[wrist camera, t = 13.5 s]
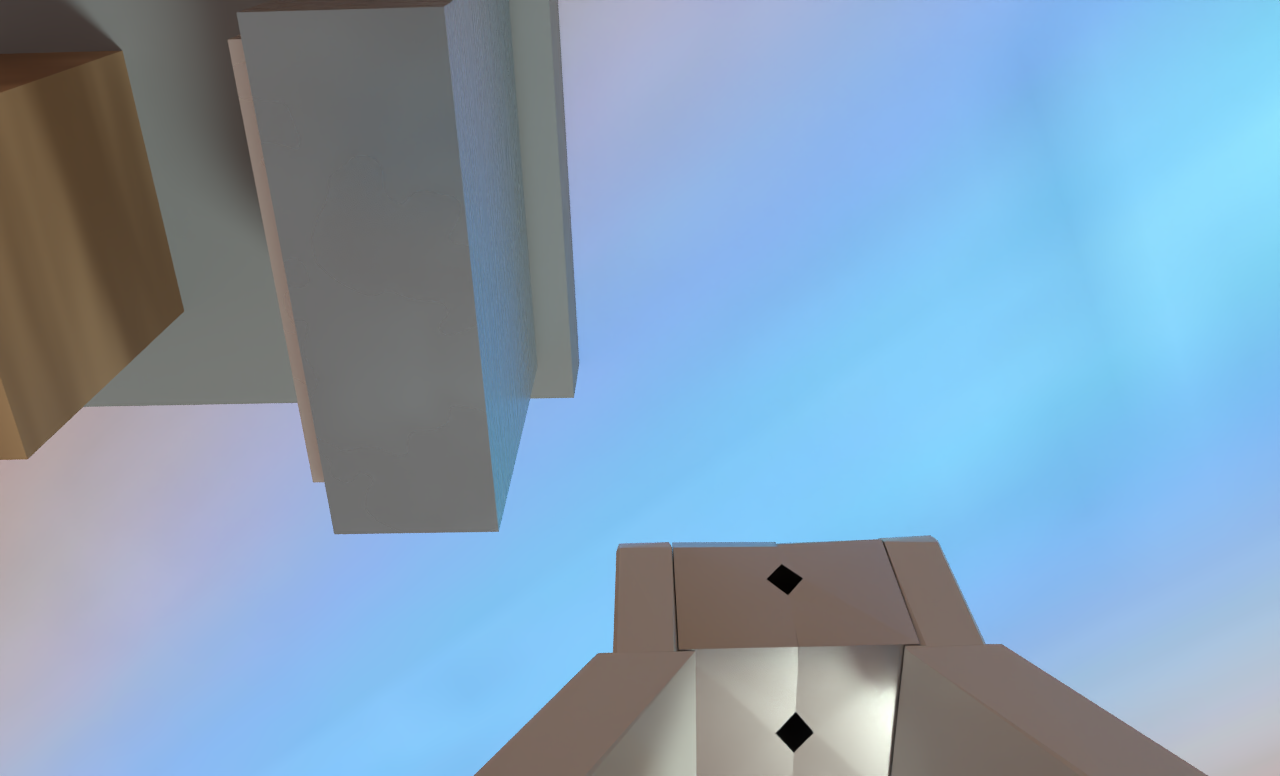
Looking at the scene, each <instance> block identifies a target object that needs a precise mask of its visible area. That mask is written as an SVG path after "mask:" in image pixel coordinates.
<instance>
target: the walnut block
mask: <svg viewBox="0 0 1280 776" xmlns="http://www.w3.org/2000/svg"><path fill="white" fill-rule="evenodd" d="M183 312H184V308H183V304H182V299H181V295H180V291H179V287H178V282H177V278H176V274H175V270H174V266H173V261H172V257H171V253H170V249H169V245H168V240H167V236H166V232H165V228H164V223H163V219H162V215H161V211H160V207H159V202H158V198H157V194H156V190H155V186H154V181H153V177H152V173H151V169H150V164H149V160H148V156H147V152H146V148H145V143H144V139H143V135H142V131H141V126H140V122H139V118H138V114H137V110H136V105H135V101H134V97H133V93H132V89H131V84H130V80H129V76H128V72H127V67H126V63H125V59H124V55H123V51H90V52H52V53H15V54H0V460H12V459H28V458H29V457H30V456H31V455H33V454H34V453H35V452H36V451H37V450H38V449H39V448H40V447H41V446H42V445H43V444H44V443H45V442H46V441H47V440H48V439H49V438H51V437H52V436H53V435H54V434H55V433H56V432H57V431H58V430H59V429H60V428H61V427H62V426H63V425H64V424H65V423H66V422H67V421H69V420H70V419H71V418H72V417H73V416H74V415H75V414H76V413H77V412H78V411H79V410H80V409H81V408H82V407H83V406H84V405H86V404H87V403H88V402H89V401H90V400H91V399H92V398H93V397H94V396H95V395H96V394H97V393H98V392H99V391H100V390H101V389H102V388H104V387H105V386H106V385H107V384H108V383H109V382H110V381H111V380H112V379H113V378H114V377H115V376H116V375H117V374H118V373H119V372H120V371H122V370H123V369H124V368H125V367H126V366H127V365H128V364H129V363H130V362H131V361H132V360H133V359H134V358H135V357H136V356H137V355H138V354H140V353H141V352H142V351H143V350H144V349H145V348H146V347H147V346H148V345H149V344H150V343H151V342H152V341H153V340H154V339H155V338H156V337H158V336H159V335H160V334H161V333H162V332H163V331H164V330H165V329H166V328H167V327H168V326H169V325H170V324H171V323H172V322H173V321H175V320H176V319H177V318H178V317H179V316H180V315H181V314H182V313H183Z"/></svg>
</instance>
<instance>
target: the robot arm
mask: <svg viewBox="0 0 1280 776" xmlns="http://www.w3.org/2000/svg"><path fill="white" fill-rule="evenodd" d="M474 776H1208V775H1206V774H1205V773H1203V772H1201V771H1200V770H1198V769H1197V768H1195V767H1194V766H1192V765H1190V764H1189V763H1187V762H1186V761H1184V760H1183V759H1181V758H1179V757H1178V756H1176V755H1175V754H1173V753H1172V752H1170V751H1168V750H1167V749H1165V748H1164V747H1162V746H1161V745H1159V744H1157V743H1156V742H1154V741H1153V740H1151V739H1150V738H1148V737H1146V736H1145V735H1143V734H1142V733H1140V732H1139V731H1137V730H1136V729H1134V728H1132V727H1131V726H1129V725H1128V724H1126V723H1125V722H1123V721H1121V720H1120V719H1118V718H1117V717H1115V716H1114V715H1112V714H1110V713H1109V712H1107V711H1106V710H1104V709H1103V708H1101V707H1099V706H1098V705H1096V704H1095V703H1093V702H1092V701H1090V700H1088V699H1087V698H1085V697H1084V696H1082V695H1081V694H1079V693H1077V692H1076V691H1074V690H1073V689H1071V688H1070V687H1068V686H1066V685H1065V684H1063V683H1062V682H1060V681H1059V680H1057V679H1056V678H1054V677H1052V676H1051V675H1049V674H1048V673H1046V672H1045V671H1043V670H1041V669H1040V668H1038V667H1037V666H1035V665H1034V664H1032V663H1030V662H1029V661H1027V660H1026V659H1024V658H1023V657H1021V656H1019V655H1018V654H1016V653H1015V652H1013V651H1012V650H1010V649H1008V648H1007V647H1005V646H1004V645H1002V644H985V642H984V639H983V637H982V635H981V633H980V631H979V629H978V626H977V624H976V622H975V620H974V618H973V616H972V613H971V611H970V609H969V607H968V605H967V603H966V600H965V598H964V596H963V594H962V592H961V590H960V587H959V585H958V583H957V581H956V579H955V577H954V574H953V572H952V570H951V568H950V566H949V564H948V562H947V559H946V557H945V555H944V553H943V551H942V549H941V546H940V544H939V542H938V540H936V539H935V538H933V537H932V536H912V537H895V538H879V539H876V540H851V541H827V542H802V543H777V544H776V542H679V543H672V547H671V545H670V544H669V542H661V543H626V544H619V546H618V549H617V552H616V582H615V612H614V641H613V653H598V654H597V655H596V656H595V657H593V658H592V659H591V660H590V661H589V662H588V663H587V664H586V665H585V666H584V667H583V668H582V669H581V670H580V671H579V672H578V673H577V674H576V675H575V676H574V677H573V678H572V679H571V680H570V681H569V682H568V683H567V684H566V685H565V686H564V687H563V688H562V689H561V690H560V691H559V692H558V693H557V694H556V695H555V696H554V697H553V698H552V699H551V700H550V701H549V702H548V703H547V704H546V705H545V706H544V707H543V708H542V709H541V710H540V711H539V712H538V713H537V714H536V715H535V716H534V717H533V718H532V719H531V720H530V721H529V722H528V723H527V724H526V725H525V726H524V727H523V728H522V729H521V730H520V731H519V732H518V733H517V734H516V735H514V736H513V737H512V738H511V739H510V740H509V741H508V742H507V743H506V744H505V745H504V746H503V747H502V748H501V749H500V750H499V751H498V752H497V753H496V754H495V755H494V756H493V757H492V758H491V759H490V760H489V761H488V762H487V763H486V764H485V765H484V766H483V767H482V768H481V769H480V770H479V771H478V772H477V773H476V774H475V775H474Z"/></svg>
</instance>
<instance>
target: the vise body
mask: <svg viewBox="0 0 1280 776" xmlns="http://www.w3.org/2000/svg"><path fill="white" fill-rule="evenodd" d="M268 1H271V0H0V54H15V53H52V52H90V51H123V55H124V59H125V63H126V67H127V72H128V76H129V80H130V84H131V89H132V93H133V97H134V101H135V105H136V110H137V114H138V118H139V122H140V126H141V131H142V135H143V139H144V143H145V148H146V152H147V156H148V160H149V164H150V169H151V173H152V177H153V181H154V186H155V190H156V194H157V198H158V202H159V207H160V211H161V215H162V219H163V223H164V228H165V232H166V236H167V240H168V245H169V249H170V253H171V257H172V261H173V266H174V270H175V274H176V278H177V282H178V287H179V291H180V295H181V299H182V304H183V308H184V312H183V313H182V314H181V315H180V316H179V317H178V318H177V319H176V320H175V321H173V322H172V323H171V324H170V325H169V326H168V327H167V328H166V329H165V330H164V331H163V332H162V333H161V334H160V335H159V336H158V337H156V338H155V339H154V340H153V341H152V342H151V343H150V344H149V345H148V346H147V347H146V348H145V349H144V350H143V351H142V352H141V353H140V354H138V355H137V356H136V357H135V358H134V359H133V360H132V361H131V362H130V363H129V364H128V365H127V366H126V367H125V368H124V369H123V370H122V371H120V372H119V373H118V374H117V375H116V376H115V377H114V378H113V379H112V380H111V381H110V382H109V383H108V384H107V385H106V386H105V387H104V388H102V389H101V390H100V391H99V392H98V393H97V394H96V395H95V396H94V397H93V398H92V399H91V400H90V401H89V402H88V403H87V404H86V405H84V406H83V407H93V406H147V405H201V404H254V403H298V401H297V396H296V391H295V386H294V381H293V376H292V370H291V365H290V360H289V355H288V350H287V345H286V339H285V334H284V329H283V324H282V319H281V314H280V308H279V303H278V298H277V293H276V288H275V283H274V277H273V272H272V267H271V262H270V257H269V252H268V246H267V241H266V236H265V231H264V226H263V221H262V215H261V210H260V205H259V200H258V195H257V190H256V185H255V179H254V174H253V169H252V164H251V159H250V154H249V148H248V143H247V138H246V133H245V128H244V123H243V117H242V112H241V107H240V102H239V97H238V92H237V86H236V81H235V76H234V71H233V66H232V61H231V55H230V50H229V45H228V39H230V38H233V37H235V36H237V35H240V29H239V24H238V19H237V13H236V12H239V11H242V10H245V9H248V8H251V7H253V6H256V5H259V4H262V3H265V2H268ZM509 9H510V21H511V34H512V47H513V60H514V73H515V85H516V98H517V111H518V124H519V136H520V149H521V162H522V175H523V188H524V200H525V213H526V226H527V239H528V251H529V264H530V277H531V290H532V303H533V315H534V328H535V341H536V354H537V366H538V367H537V371H536V375H535V380H534V384H533V388H532V392H531V397H530V398H574V393H575V387H576V380H577V374H578V367H579V353H578V336H577V319H576V302H575V285H574V268H573V251H572V234H571V217H570V200H569V183H568V166H567V149H566V132H565V115H564V98H563V81H562V64H561V47H560V30H559V13H558V0H509Z"/></svg>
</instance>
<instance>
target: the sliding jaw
mask: <svg viewBox="0 0 1280 776" xmlns="http://www.w3.org/2000/svg"><path fill="white" fill-rule="evenodd" d="M236 13H237V19H238V24H239V29H240V35H237V36H235V37H233V38H230V39H228V45H229V50H230V55H231V61H232V66H233V71H234V76H235V81H236V86H237V92H238V97H239V102H240V107H241V112H242V117H243V123H244V128H245V133H246V138H247V143H248V148H249V154H250V159H251V164H252V169H253V174H254V179H255V185H256V190H257V195H258V200H259V205H260V210H261V215H262V221H263V226H264V231H265V236H266V241H267V246H268V252H269V257H270V262H271V267H272V272H273V277H274V283H275V288H276V293H277V298H278V303H279V308H280V314H281V319H282V324H283V329H284V334H285V339H286V345H287V350H288V355H289V360H290V365H291V370H292V376H293V381H294V386H295V391H296V396H297V401H298V407H299V412H300V417H301V422H302V427H303V432H304V438H305V443H306V448H307V453H308V458H309V463H310V469H311V474H312V479H313V482H325V487H326V492H327V498H328V503H329V508H330V513H331V519H332V524H333V529H334V534H374V533H438V532H499V528H500V524H501V520H502V515H503V511H504V507H505V503H506V498H507V494H508V490H509V486H510V481H511V477H512V473H513V469H514V465H515V460H516V456H517V452H518V448H519V443H520V439H521V435H522V431H523V426H524V422H525V418H526V414H527V409H528V405H529V401H530V397H531V392H532V388H533V384H534V380H535V375H536V371H537V367H538V366H537V354H536V341H535V328H534V315H533V303H532V290H531V277H530V264H529V251H528V239H527V226H526V213H525V200H524V188H523V175H522V162H521V149H520V136H519V124H518V111H517V98H516V85H515V73H514V60H513V47H512V34H511V21H510V9H509V0H271V1H268V2H265V3H262V4H259V5H256V6H253V7H251V8H248V9H245V10H242V11H239V12H236Z"/></svg>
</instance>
